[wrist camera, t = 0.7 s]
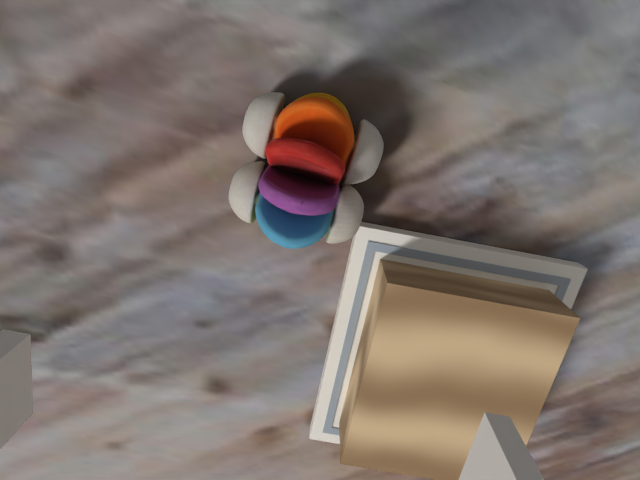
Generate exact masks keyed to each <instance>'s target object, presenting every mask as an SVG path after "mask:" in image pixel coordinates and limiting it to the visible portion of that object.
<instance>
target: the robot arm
mask: <svg viewBox="0 0 640 480" xmlns="http://www.w3.org/2000/svg"><path fill="white" fill-rule="evenodd" d="M32 414H33V395H32V366H31V338H30V334H26V333H20V332H14V331H9V330H1V331H0V449H1V448H2V447H3V446H4V445H5V443H6V442H7V441H8V440H9V439H10V438H11V437H12V436H13V435H14V433H15V432H16V431H17V430H18V429H19V428H20V427H21V426H22V425H23V424H24V422H25V421H26V420H27V419H28V418H29V417H30V416H31V415H32ZM459 480H544V479H543V477H542V475H541V473H540V471H539V469H538V467H537V466H536V464H535V462H534V460H533V458H532V456H531V455H530V453H529V451H528V449H527V447H526V445H525V443H524V442H523V440H522V438H521V436H520V434H519V432H518V431H517V429H516V427H515V425H514V423H513V421H512V419H511V418H510V416H504V415H498V414H492V413H487V412H484V415H483V417H482V420H481V423H480V425H479V428H478V430H477V433H476V436H475V438H474V441H473V443H472V446H471V449H470V451H469V454H468V456H467V459H466V462H465V464H464V467H463V469H462V472H461V475H460V477H459Z"/></svg>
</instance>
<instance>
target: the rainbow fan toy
mask: <svg viewBox="0 0 640 480" xmlns="http://www.w3.org/2000/svg"><path fill="white" fill-rule="evenodd" d="M284 101H285V96H284V94H282V93H278V92H271V93H266V94H263V95H261V96H259V97H257V98H256V99H254V100H253V101H252V102H251V104H250V105H249V107H248V109H247V112H246V115H245V118H244V123H243V136H244V139H245V141H246V143H247V145H248V147H249V148H250V149H251V150H252V151H253V152H254V153H255V154H256V155H258V156H259V157H261V158H263V159H266V158H267V162H268V163H269V166H268V164H267V163H266V162H263V161H258V162H251V163H248V164H246V165H244V166H243V167H241V168H240V169H239V170H238V171H237V172H236V173H235V175H234V177H233V179H232V182H231V186H230V190H229V202H230V205H231V207H232V209H233V211H234V212H235V214H236V215H237V216H238V217H239V218H241V219H242V220H243V221H245V222H247V223H250V224H251V223H253V222H254V220H255V218H257V221H258V224H259V226H260V228H261V230H262V231H263V232H264V234H265V235H266V236H267V237H268V238H269V239H270V240H272V241H273V242H274V243H276V244H278V245H280V246H283V247H285V248H293V249H294V248H302V247H306V246H309V245H312V244H314V243H316V242H317V241H318V240H320V239H321V238H322V237H323V236H324V235H325V234H326V233H327V234H326V242H328V243H340V242H344V241H346V240H348V239H350V238H351V237H353V236H354V235H355V234H356V233H357V231H358V229H359V227H360V224H361V221H362V217H363V212H364V203H363V200H362V198H361V196H360V194H359V193H358V192H357V190H356V189H355V188H354V187H352V186H351V184H356V183H361V182H363V181H366V180H367V179H369V178H370V177H372V176H373V175H374V174H375V172H376V170H377V168H378V166H379V163H380V160H381V157H382V153H383V148H384V143H383V140H382V137H381V135H380V133H379V131H378V130H377V128H376V127H375V126H374V125H373V124H371V123H370V122H368V121H367V120H364V119H362V120H361V121H360V123H359V125H358V127H357V130H356V132H355V135H354V130H353V123H352V122H351V118H350V116H349V113H348V111H347V109H346V108H345V106H344V105H343V104H342V103H341V102H340V101H339V100H338V99H337V98H336V97H334V96H332V95H329V94H326V93H310V94H307V95H304V96H302V97H300V98H298V99H296V100H295V101H294V102H292V103H290V104H289V105H288V106H286V107H285V108H284V109H283V107H284ZM341 179H342V183H341V184H340V187H339V183H340V181H341Z"/></svg>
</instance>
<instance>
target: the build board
mask: <svg viewBox="0 0 640 480" xmlns="http://www.w3.org/2000/svg"><path fill="white" fill-rule="evenodd" d="M380 259H384V260H389V261H395V262H400V263H406V264H411V265H416V266H422V267H427V268H432V269H438V270H443V271H449V272H454V273H459V274H465V275H470V276H476V277H481V278H486V279H492V280H497V281H503V282H508V283H513V284H519V285H524V286H530V287H535V288H540V289H546V290H550V291H551V292H552V293H553V294H554V295H555V296H556V297H557V298H559V299H560V300H561V301H562V302H563V303H564V304H565V305H566V306H567V307H569V308H570V309H572V306H573V304H574V301H575V299H576V297H577V294H578V292H579V289H580V287H581V284H582V282H583V280H584V277H585V275H586V272H587V270H588V269H587V268H586V267H584V266H583V265H581V264H580V263H578V262H572V261H567V260H562V259H557V258H551V257H546V256H541V255H535V254H530V253H525V252H519V251H514V250H509V249H504V248H498V247H493V246H488V245H482V244H477V243H472V242H466V241H461V240H456V239H451V238H445V237H440V236H435V235H429V234H424V233H419V232H413V231H408V230H403V229H397V228H392V227H387V226H382V225H376V224H371V223H366V222H361V224H360V227H359V229H358V231H357V233H356V234H355V235H354V236H353V239H352V244H351V248H350V253H349V257H348V261H347V266H346V270H345V275H344V279H343V284H342V288H341V293H340V297H339V301H338V306H337V310H336V315H335V319H334V324H333V328H332V332H331V337H330V341H329V346H328V350H327V355H326V359H325V364H324V368H323V372H322V377H321V381H320V386H319V390H318V395H317V399H316V403H315V408H314V412H313V417H312V421H311V426H310V437H309V439H313V440H319V441H325V442H331V443H337V444H340V437H339V421H340V417H341V413H342V409H343V405H344V401H345V397H346V393H347V389H348V385H349V381H350V377H351V373H352V369H353V365H354V361H355V357H356V353H357V349H358V345H359V341H360V337H361V333H362V329H363V325H364V321H365V317H366V313H367V309H368V305H369V301H370V297H371V293H372V289H373V285H374V281H375V277H376V273H377V269H378V265H379V262H380Z"/></svg>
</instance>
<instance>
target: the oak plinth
mask: <svg viewBox="0 0 640 480" xmlns="http://www.w3.org/2000/svg"><path fill="white" fill-rule="evenodd" d="M579 320H580V317H578V316H577V315H576V314H575V313H574V312H573V311H572V310H571V309H570V308H569V307H567V306H566V305H565V304H564V303H563V302H562V301H561V300H560V299H559V298H557V297H556V296H555V295H554V294H553V293H552V292H551V291H550V290H546V289H540V288H535V287H530V286H524V285H519V284H513V283H508V282H503V281H497V280H492V279H486V278H481V277H476V276H470V275H465V274H459V273H454V272H449V271H443V270H438V269H432V268H427V267H422V266H416V265H411V264H406V263H400V262H395V261H389V260H384V259H380V262H379V265H378V269H377V273H376V277H375V281H374V285H373V289H372V293H371V297H370V301H369V305H368V309H367V313H366V317H365V321H364V325H363V329H362V333H361V337H360V341H359V345H358V349H357V353H356V357H355V361H354V365H353V369H352V373H351V377H350V381H349V385H348V389H347V393H346V397H345V401H344V405H343V409H342V413H341V417H340V421H339V437H340V464H345V465H351V466H357V467H363V468H369V469H375V470H381V471H387V472H393V473H400V474H406V475H412V476H418V477H424V478H430V479H436V480H459V477H460V475H461V472H462V469H463V467H464V464H465V462H466V459H467V456H468V454H469V451H470V449H471V446H472V443H473V441H474V438H475V436H476V433H477V430H478V428H479V425H480V423H481V420H482V417H483V415H484V412H487V413H492V414H498V415H504V416H510V418H511V419H512V421H513V423H514V425H515V427H516V429H517V431H518V432H519V434H520V436H521V438H522V440H523V442H524V443H525V445H527V442H528V440H529V438H530V435H531V433H532V431H533V428H534V426H535V423H536V421H537V419H538V416H539V414H540V412H541V409H542V407H543V405H544V402H545V400H546V398H547V395H548V393H549V391H550V388H551V386H552V384H553V381H554V379H555V377H556V374H557V372H558V370H559V367H560V365H561V363H562V360H563V358H564V356H565V353H566V351H567V349H568V346H569V344H570V341H571V339H572V337H573V334H574V332H575V330H576V327H577V325H578V323H579Z"/></svg>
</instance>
